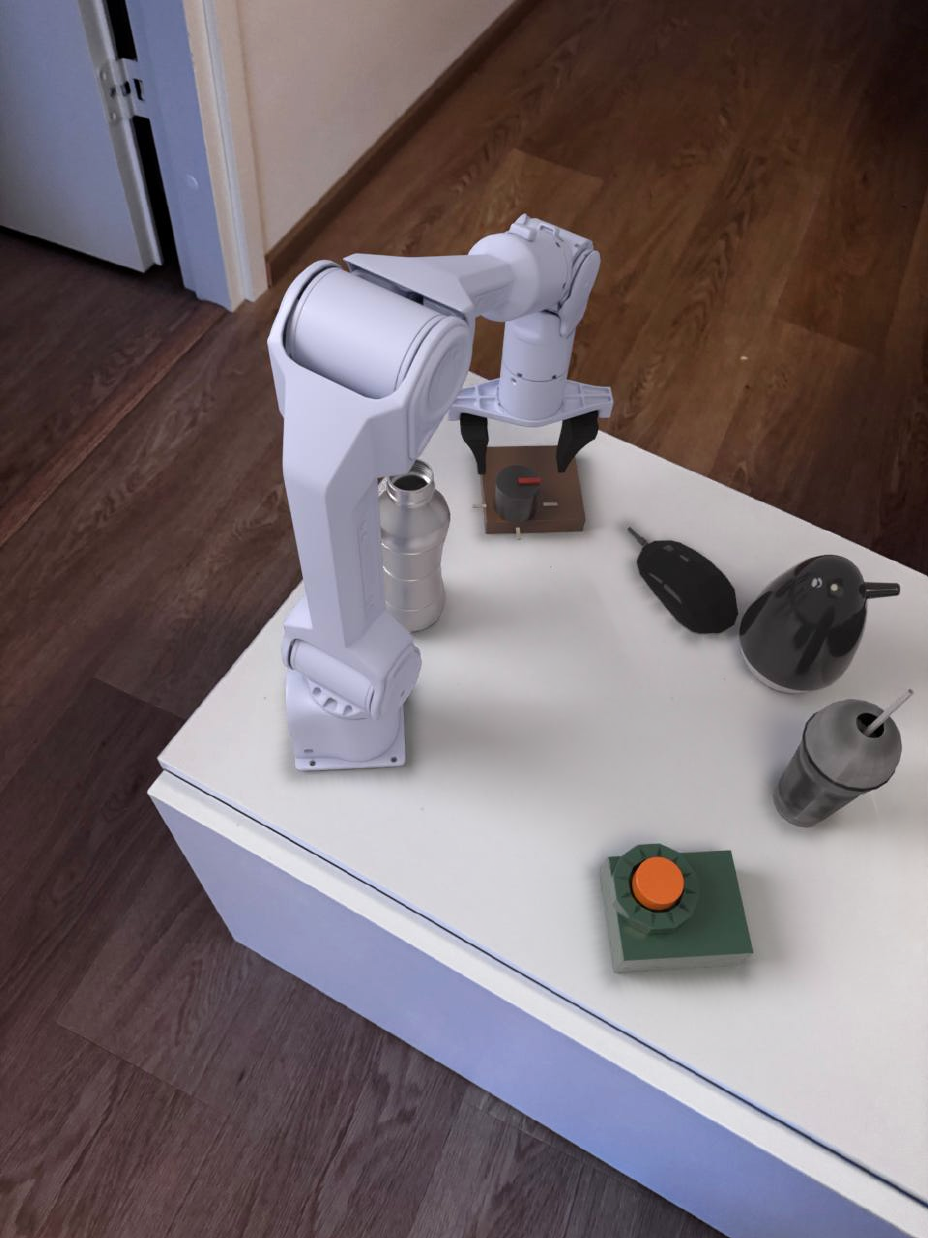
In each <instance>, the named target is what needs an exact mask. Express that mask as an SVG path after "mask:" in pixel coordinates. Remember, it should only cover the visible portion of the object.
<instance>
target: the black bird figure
mask: <svg viewBox="0 0 928 1238" xmlns="http://www.w3.org/2000/svg"><path fill="white" fill-rule="evenodd" d="M858 567H859V566H857V565H856V564H855V563H854V562H853V561H852V560H850V559H848V558H846V557H845V556H841V555H838V554H821V555H820V554H819V555H816V556H812V557H809V558H807V559H804V560H802V561H800V562H798V563H796V564H794V565H793V566H791V567H790V568H787V569H786V570H785V571H783V572H782V573H781V574H779V575H778V576H776V577H775V578H774V579H773V580H771V581H770V582H769V583H768V584H767V585H766V586H765V587H763V589H762V590H761V591H760V592H759V593H758V594H757V595H756V597H755V598H754V599H753V600H752V601H751V602H750V604H749V605H748V607H747V608H746V610H745V612H744V614H743V615H742V618H741V620H740V624H739V629H738V639H739V644H740V649H741V655H742V657H743V661H744V662H745V664H746V666H747V668H748V670H750V673H752V674H753V676H755V678H756V679H757V680H759V682H761V683H763V684H764V685H766V687H769V688H770V689H773V690H776V691H779V692H782V693H786V694H805V693H806V694H807V693H811V692H814V691H818V690H822V689H825V688H827V687H830V686H832V685H834V684H835V683H837V681H838V680H840V679H841V678H842V677H843V676H844V674H845V673H846V672H847V671H848V669H849V667H850V666H851V664H852V663H853V661H854V660H855V659H854V658H855V657H856V654H857V653H858V650H859V648H860V645H861V643H862V640H863V637H864V633H865V631H866V625H867V619H868V612H869V611H868V610H869V601H868V600H871V599H881V598H889V597H891V598H892V597H897V596H899V595H900V594H901V585H900V584H899V583H898V582H880V581H879V582H878V581H876V582H875V581H865V578H864V576H863V574H862V572H861V570H860V569H859V568H858Z"/></svg>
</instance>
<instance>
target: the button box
mask: <svg viewBox="0 0 928 1238" xmlns="http://www.w3.org/2000/svg"><path fill="white" fill-rule="evenodd" d="M652 857H663V858H666V859H668V860H670V861H672V862H673V863H674V864H675V865H676V866H677V867H678V868H679V869H680V871H681V873H682V875H683V879H684V888H683V891H682V893H681V895H680V897H679V898H678V899H677V900H676V902H675V903H674V904H673V905H672V906H670V907H669V908H667V909H664V910H653V909H649V908H647V907H645V906H644V905H642V904H641V903H640V902H639V901H638V900H637V898H636V897H635V895H634V892H633V888H632V880H633V876H634V874H635V872H636V871H637V869H638V868H639V866H640V865H641V863H642V862H644V861H645V860H647V859H649V858H652ZM599 880H600V887H601V894H602V901H603V902H602V903H603V908H604V915H605V922H606V929H607V935H608V944H609V951H610V956H611V963H612V971H613V974H620V973H622V974H623V973H638V972H639V973H640V972H654V971H671V970H672V971H673V970H685V969H686V970H687V969H702V968H718V967H733V966H734V967H736V966H739V965H740V964H742V963H743V962H744V961H745V960H747V958H749V957H750V956H752V954H754V949H753V945H752V940H751V939H752V938H751V935H750V930H749V926H748V921H747V916H746V914H745V908H744V903H743V898H742V894H741V890H740V886H739V882H738V880H739V879H738V876H737V872H736V867H735V862H734V857H733V852H732V850H731V849H727V850H726V849H725V850H709V851H689V852H687V851H686V852H679V851H677V850H674V849H673V848H671V847H668V846H666V845H664V844H662V843H643V844H641V843H640V844H637V845H635V846H634V847H633V848H631V849H629V850H628V851H627V852H625V853H624V854H622V855H615V856H607V858H606V859H605V861H604V863H603V865H602V867H601V870H600V871H599Z"/></svg>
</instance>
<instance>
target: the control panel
mask: <svg viewBox="0 0 928 1238" xmlns="http://www.w3.org/2000/svg"><path fill="white" fill-rule="evenodd" d="M556 449H557V444H548V445H545V444H544V445H543V444H542V445H500V446H497V445H495V446H494V445H493V446H487V452H486V473H485V474H480V475H479V480H480V491H481V501H482V503H472V509H482V510H483V511H482V512H483V520H484V521H483V522H484V530H485V534H486V535H495V534H496V535H498V534H501V535H502V534H516V540H517V541H521V540H522V536H521V534H530V533H531V534H534V533H535V534H536V533H569V532H570V533H571V532H583V531H584V528H585V524H586V520H587V518H586V512H585V506H584V502H583V501H584V499H583V494H582V489H581V482H580V476H579V470H578V465H577V464H578V463H577V459H576V456H575V457H574V458H573V460H572V461H571V463H570V464H569V466H568V467H567V469H566V471H565V472H563V473H558V468H557V462H556ZM512 465H521V466H525V467H528V468H530V469H532V470H533V471H534V472H536V474H537V475H538V476H539V478H540V481H541V485H540V491H539V497H538V503H537V509H536V512H535V514H534V515H533V516H532V517H531V518H530V519H528V520H526V521H523V522H510V521H506V520H504V519H502V518H501V517H500V516H499V515H498V514H497V513H496V512H495V510H494V507H493V501H494V492H495V483H496V477H497V475H498V473H499V472H500V471H501V470H502V469H504V468H506V467H508V466H512Z"/></svg>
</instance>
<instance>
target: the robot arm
mask: <svg viewBox="0 0 928 1238" xmlns="http://www.w3.org/2000/svg"><path fill="white" fill-rule="evenodd" d="M593 244H594V242H593V240H591V239H588V238H586V237H583V236H582V235H579V234H576V233H573V232H571V231H569V230H567V229H564V228H562V227H559V226H557V225H554V224H552V223H549V222H548V221H544V220H541V219H539V218H537V217H533V218H532V217H530V216H529V215H528V214H527V213H523V214H521V215H520V216H519V217H518V218H517V219H516V221H515V222H514V223H512V224H511V225H510V228H509V230H507V231H505V232H500V233H494V234H490V235H487V236H485V237H483V238H481V239H480V240H478V241H477V242H476V243H474V245H473V246H472V247H471V249H470V250H469V251H468V254H462V255H461V254H460V255H457V254H456V255H437V256H413V257H412V256H411V257H409V256H396V255H383V254H371V253H352V254H350V255H348V256H346V257H344V258H342V260H343V261H344V262H345V263H346V265H347V267H348V270H349V271H346V270H345V269H344V268H343V267H342V266H341V264H339V263H336V262H334V261H332V260H329V259H322V260H318V261H315V262H313V263H312V264H310V265H309V266H307V267H306V268H305V269H304V270H303V271H302V272H300V273H299V274H298V275H297V276H296V277H295V278H294V280H293V281H292V282H291V283H290V285H289V287H288V288H287V290H286V292H285V294H284V296H283V299H282V301H281V303H280V306H279V310H278V312H277V314H276V316H275V319H274V321H273V323H272V326H271V329H270V332H269V335H268V337H267V341H266V342H267V343H266V344H267V349H268V355H269V360H270V366H271V371H272V377H273V382H274V388H275V393H276V399H277V403H278V404H277V405H278V410H279V413H280V414H281V416H282V417H283V441H282V442H283V443H282V445H283V446H282V474H283V480H284V484H285V485H284V486H285V491H286V495H287V501H288V507H289V512H290V517H291V522H292V528H293V532H294V537H295V543H296V544H295V545H296V549H297V554H298V559H299V564H300V569H301V574H302V579H303V580H302V581H303V585H304V589H305V590H304V591H305V593H304V594H303V595H302V596H301V598H299V599H298V601H297V602H296V603H295V605H293V607H292V608H291V610H290V611H289V613H288V614H287V616H286V617H285V620H284V621H283V629H284V635H283V639H282V642H281V649H280V651H281V660H282V663H283V665H284V667H286V677H285V711H286V722H287V729H288V733H289V737H290V741H291V747H292V750H293V753H294V759H295V760H294V765H295V768H296V770H298V771H301V772H302V771H303V772H304V771H305V772H306V771H323V770H324V771H325V770H326V771H327V770H345V769H369V768H371V769H372V768H392V767H403V766H404V765H405V764H406V761H407V760H406V759H407V756H406V737H405V735H406V734H405V712H404V711H405V709H404V703H405V702H406V700H407V699H408V697H409V696H410V695H411V693H412V691H413V689H414V687H415V685H416V683H417V681H418V679H419V676H420V673H421V670H422V665H423V661H422V660H423V659H422V656H421V655H422V653H421V650H420V648H419V647H418V646H416V645H415V639H414V636H413V635H412V632H409V631H408V630H407V629H406V628H405V627H404V626H403V625H402V624H401V623H400V622H399V621H398V620H397V619H396V618H395V617H394V616H393V615H392V614H391V613H390V612H389V611H388V610H387V609H386V606H385V590H384V574H383V558H382V542H381V526H380V510H379V496H380V494H379V480H378V479H380V478H387V477H388V476H395V475H402V474H407V473H408V472H409V470H410V469H411V467H412V465H413V464H414V462H415V460H416V459H419V457H420V456H422V454H423V453H424V451H425V450H426V447H427V446H428V444H429V443H430V441H431V439H432V438H433V436H434V434H435V433H436V431H437V429H438V428H439V426H440V424H441V423H442V421H443V419H444V418H445V416H446V415H447V421H448V422H458V421H459V428H460V435H461V438H462V441H463V443H464V444H465V445H467V447H468V448H469V450H470V452H471V453H472V456H473V457H474V460H475V463H476V470H477V475H479V476H480V474H485V473H486V452H487V447H489V444H490V435H489V419H490V420H494V421H499V422H503V423H505V424H509V425H510V424H511V425H514V426H519V427H523V428H531V429H532V428H542V427H545V426H549V425H551V424H555V423H559V422H561V428H560V432H559V436H558V440H557V444H556V445H557V449H556V462H557V468H558V473H563V472H565V471H566V469H567V467H568V466H569V464H570V463H571V461H572V460H573V458H574V457H575V458H576V456H577V454H578V453H579V452H580V451H581V450H582V449H583V448H584V447H586V445H588V444H590V443H591V442H593V441H595V440H596V438H597V436H598V434H599V431H600V426H599V420H598V418H599V419H609V418H611V415H612V410H613V406H614V397H613V393H612V389H611V386H599V385H594V384H593V385H592V384H588V383H583V382H579V381H576V380H575V381H574V380H570V379H567V378H568V374H569V370H570V369H569V368H570V363H571V358H572V352H573V347H574V341H575V336H576V330H577V326H578V325H579V323H580V322H581V321H582V319H583V318H584V315H585V312H586V310H587V305H588V301H589V297H590V293H591V291H592V289H593V287H594V285H595V282H596V279H597V276H598V273H599V270H600V265H601V262H602V260H601V255H600V252H599V251H598V250H594V245H593ZM480 316H481V317H483V318H484V319H487V320H489V321H492V322H497V323H504V333H503V343H502V352H501V362H500V373H499V377H498V378H494V379H490V380H487V381H484V382H480V383H476V384H474V385H470V386H466V387H463V386H464V384H465V383H466V380H467V377H468V373H469V370H470V366H471V363H472V358H473V357H472V356H473V344H474V339H475V330H476V318H478V317H480ZM393 759H394V760H396V761H392V760H393ZM312 763H314V765H312Z"/></svg>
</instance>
